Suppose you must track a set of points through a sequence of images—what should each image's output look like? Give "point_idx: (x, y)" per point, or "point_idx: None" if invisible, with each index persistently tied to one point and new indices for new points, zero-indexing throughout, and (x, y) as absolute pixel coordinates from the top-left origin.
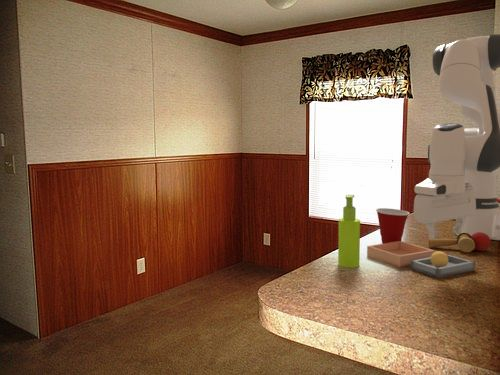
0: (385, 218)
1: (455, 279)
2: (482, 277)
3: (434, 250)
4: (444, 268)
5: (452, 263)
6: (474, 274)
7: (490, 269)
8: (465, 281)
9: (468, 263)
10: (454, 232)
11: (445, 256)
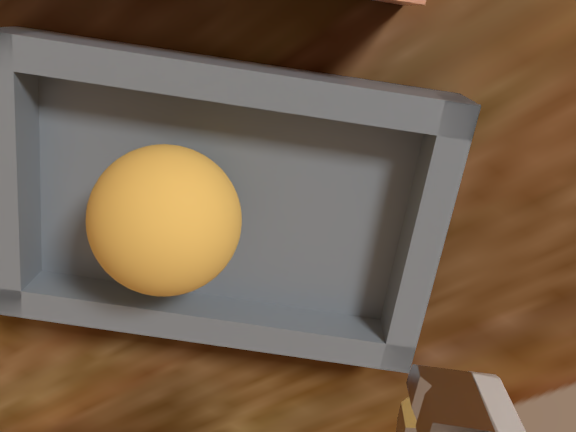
0: None
1: (107, 353)
2: (285, 423)
3: (423, 4)
4: (60, 322)
5: (373, 201)
6: (306, 372)
7: (504, 382)
8: (126, 402)
9: (333, 360)
10: (410, 389)
11: (157, 295)
